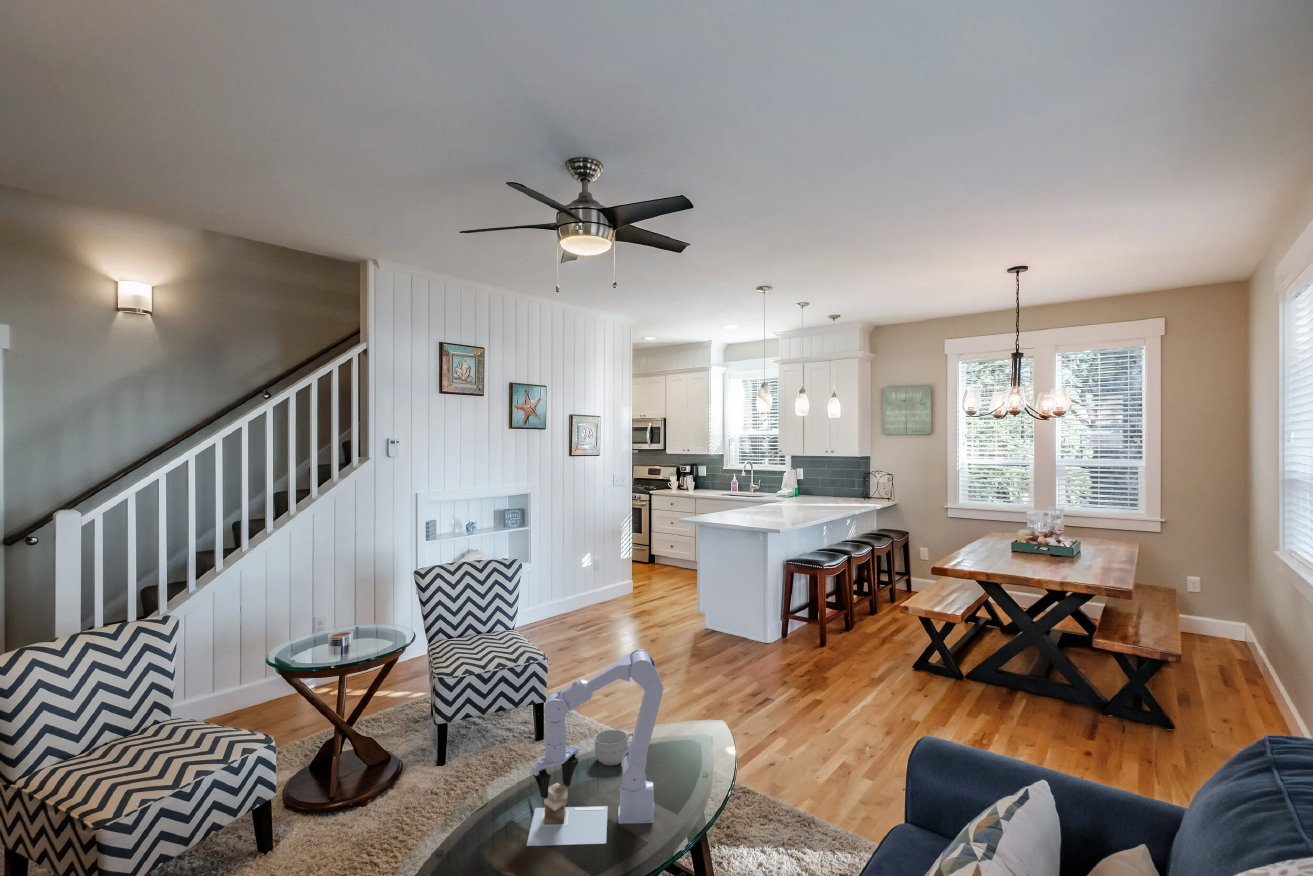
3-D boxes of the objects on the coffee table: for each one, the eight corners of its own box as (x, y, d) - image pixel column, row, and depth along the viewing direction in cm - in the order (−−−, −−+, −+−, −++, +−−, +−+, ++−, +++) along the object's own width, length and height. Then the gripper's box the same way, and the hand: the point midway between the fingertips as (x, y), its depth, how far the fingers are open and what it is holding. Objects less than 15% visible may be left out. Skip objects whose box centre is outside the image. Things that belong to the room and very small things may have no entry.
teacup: (597, 771, 192) (597, 746, 192) (591, 754, 202) (591, 730, 202) (640, 765, 196) (641, 740, 196) (633, 749, 206) (633, 725, 206)
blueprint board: (607, 808, 173) (607, 805, 173) (606, 845, 157) (606, 843, 157) (535, 810, 172) (535, 807, 172) (526, 848, 156) (526, 845, 156)
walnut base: (565, 812, 170) (565, 798, 170) (563, 824, 165) (563, 808, 165) (546, 813, 169) (547, 798, 169) (544, 824, 164) (544, 809, 164)
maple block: (557, 797, 170) (557, 782, 170) (567, 803, 167) (567, 788, 167) (544, 804, 167) (544, 789, 167) (554, 810, 164) (554, 795, 164)
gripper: (566, 726, 175) (566, 774, 175) (524, 745, 164) (524, 796, 164) (583, 734, 170) (583, 784, 170) (540, 754, 160) (540, 807, 160)
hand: (555, 791), depth 167 cm, fingers open, 7 cm apart
